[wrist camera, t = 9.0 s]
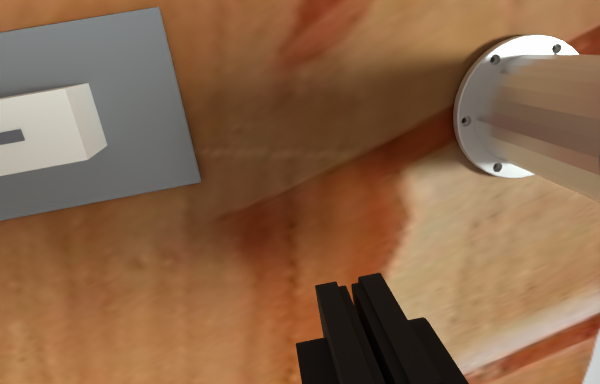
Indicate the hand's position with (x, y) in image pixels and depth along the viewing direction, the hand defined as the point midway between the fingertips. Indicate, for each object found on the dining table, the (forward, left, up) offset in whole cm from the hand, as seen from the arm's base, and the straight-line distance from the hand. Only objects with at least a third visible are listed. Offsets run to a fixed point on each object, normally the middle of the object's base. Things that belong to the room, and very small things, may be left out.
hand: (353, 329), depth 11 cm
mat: (+16, -4, -29) cm, 33 cm away
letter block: (+13, -4, -26) cm, 29 cm away
